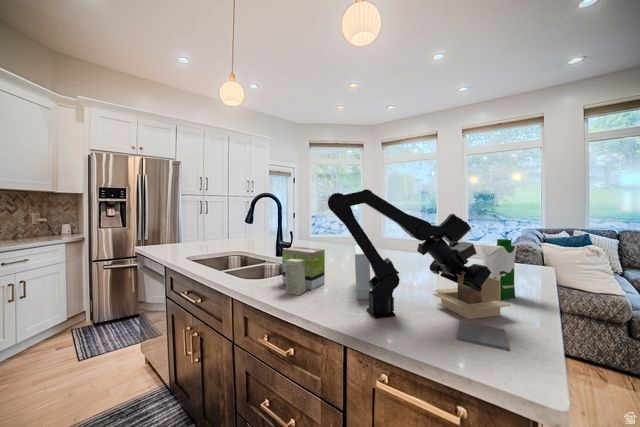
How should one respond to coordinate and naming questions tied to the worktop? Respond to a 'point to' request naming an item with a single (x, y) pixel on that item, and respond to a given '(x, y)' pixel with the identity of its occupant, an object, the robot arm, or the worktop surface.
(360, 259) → the skincare box
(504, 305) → the cardboard carton
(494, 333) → the slate coaster
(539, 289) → the worktop surface
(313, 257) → the tea box
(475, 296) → the walnut box
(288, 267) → the skincare box
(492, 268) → the milk carton
